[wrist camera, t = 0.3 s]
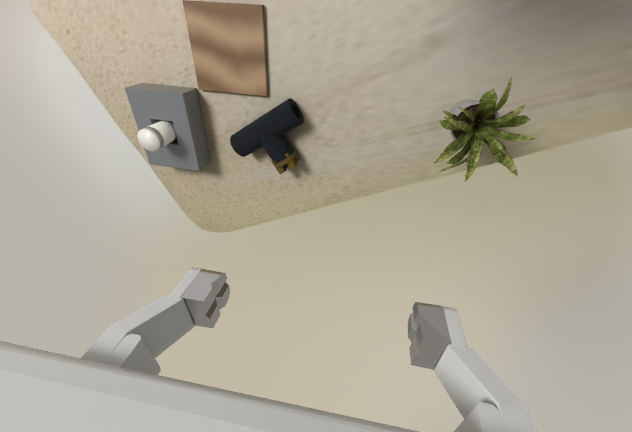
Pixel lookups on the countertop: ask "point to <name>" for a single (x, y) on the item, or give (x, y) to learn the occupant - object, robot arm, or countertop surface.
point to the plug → (157, 135)
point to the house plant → (481, 130)
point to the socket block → (187, 119)
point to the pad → (228, 46)
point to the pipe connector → (271, 135)
